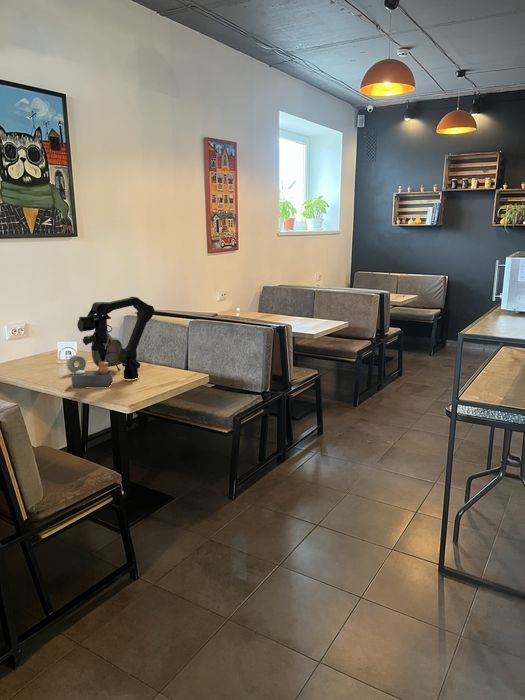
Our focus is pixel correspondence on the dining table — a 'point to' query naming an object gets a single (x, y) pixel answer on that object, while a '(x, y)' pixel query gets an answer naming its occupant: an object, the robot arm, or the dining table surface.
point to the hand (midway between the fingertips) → (103, 361)
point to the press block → (92, 379)
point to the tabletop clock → (109, 353)
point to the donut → (73, 359)
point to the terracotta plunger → (103, 367)
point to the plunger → (80, 372)
